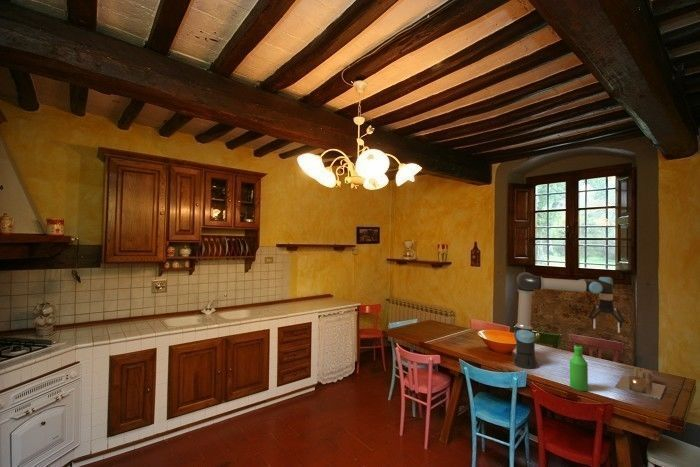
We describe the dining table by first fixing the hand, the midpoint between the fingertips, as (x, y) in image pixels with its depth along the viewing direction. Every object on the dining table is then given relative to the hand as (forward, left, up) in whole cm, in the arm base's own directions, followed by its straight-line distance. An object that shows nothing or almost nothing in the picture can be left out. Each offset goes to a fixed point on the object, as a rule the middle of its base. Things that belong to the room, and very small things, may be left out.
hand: (606, 330), depth 228 cm
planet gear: (-11, -20, -26) cm, 35 cm away
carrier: (-20, -20, -27) cm, 39 cm away
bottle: (-50, +4, -27) cm, 57 cm away
